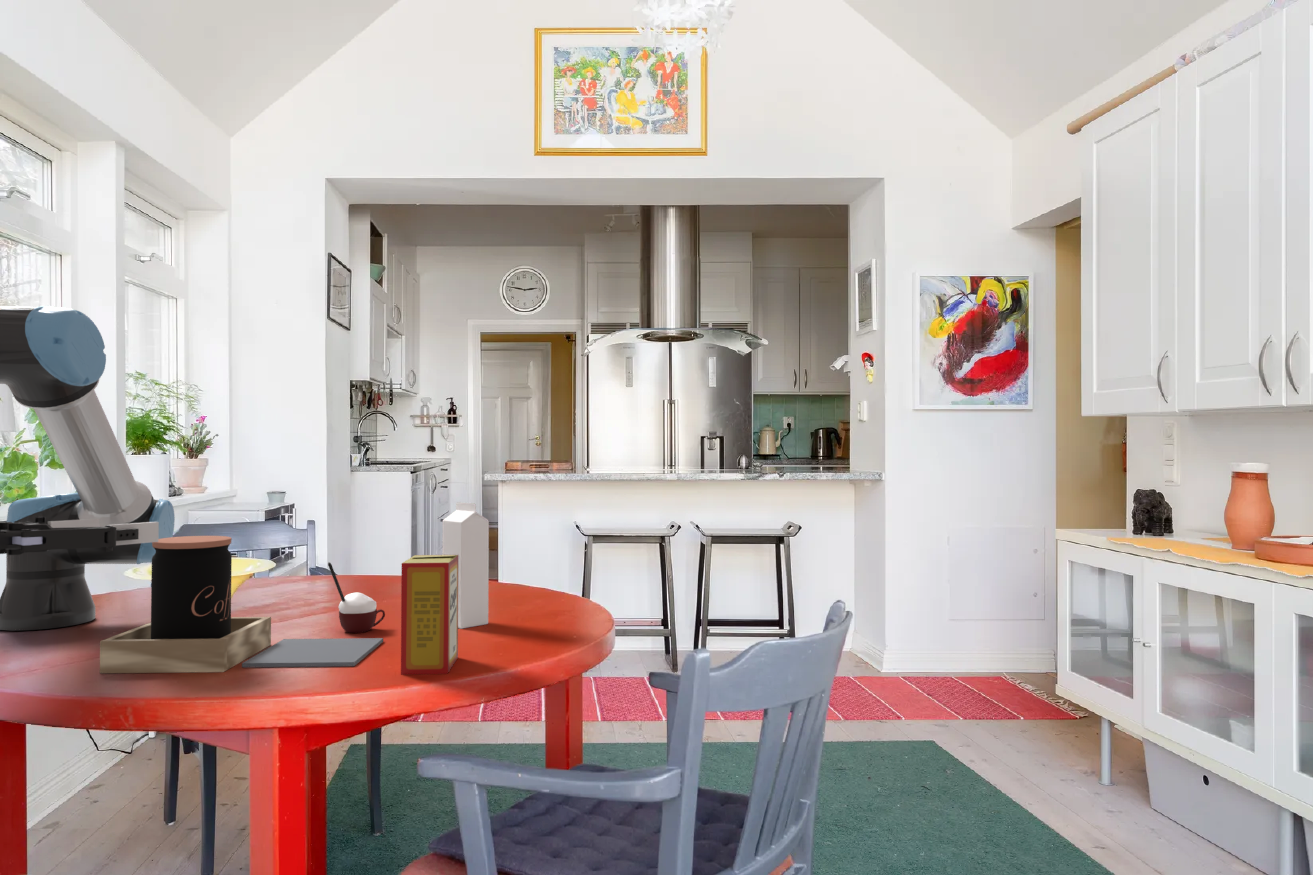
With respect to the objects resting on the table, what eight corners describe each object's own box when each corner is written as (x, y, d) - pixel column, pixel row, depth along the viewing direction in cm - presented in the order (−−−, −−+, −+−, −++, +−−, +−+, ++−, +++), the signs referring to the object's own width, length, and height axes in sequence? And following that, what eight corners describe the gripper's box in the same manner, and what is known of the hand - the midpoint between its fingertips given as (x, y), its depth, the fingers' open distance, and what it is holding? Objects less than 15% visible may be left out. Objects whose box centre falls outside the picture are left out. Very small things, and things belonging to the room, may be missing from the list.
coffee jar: (196, 668, 124) (197, 543, 124) (132, 664, 126) (134, 541, 126) (245, 651, 134) (247, 536, 134) (186, 648, 136) (187, 534, 136)
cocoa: (386, 629, 153) (390, 561, 154) (377, 635, 147) (381, 565, 148) (331, 627, 152) (336, 559, 153) (320, 633, 146) (325, 562, 147)
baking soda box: (447, 673, 121) (448, 560, 122) (400, 674, 121) (401, 560, 121) (457, 657, 131) (458, 552, 131) (414, 658, 130) (414, 552, 131)
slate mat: (283, 642, 140) (283, 638, 140) (383, 641, 141) (383, 637, 141) (241, 667, 124) (241, 663, 124) (354, 666, 125) (354, 661, 125)
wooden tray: (162, 645, 138) (162, 617, 138) (270, 644, 139) (271, 616, 139) (99, 673, 121) (100, 641, 121) (223, 671, 122) (223, 640, 122)
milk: (460, 629, 152) (461, 504, 152) (441, 624, 156) (441, 502, 156) (489, 623, 156) (489, 502, 156) (469, 619, 160) (469, 501, 160)
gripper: (-105, 568, 108) (74, 552, 127) (4, 581, 96) (182, 561, 115) (-104, 508, 108) (75, 501, 127) (5, 514, 97) (183, 505, 115)
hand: (126, 529), depth 121 cm, fingers open, 13 cm apart
